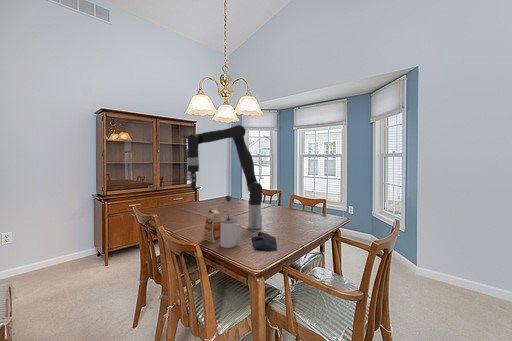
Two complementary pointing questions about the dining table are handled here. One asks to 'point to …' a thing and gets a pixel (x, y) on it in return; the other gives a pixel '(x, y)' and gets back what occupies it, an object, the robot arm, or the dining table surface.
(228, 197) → the plunger
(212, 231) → the milk carton
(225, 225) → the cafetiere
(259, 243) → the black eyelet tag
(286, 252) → the dining table surface
